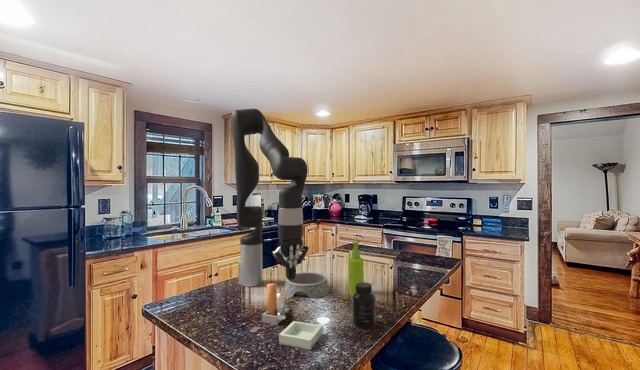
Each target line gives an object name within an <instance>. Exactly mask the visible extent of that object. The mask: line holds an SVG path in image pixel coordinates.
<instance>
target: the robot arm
mask: <svg viewBox="0 0 640 370" xmlns="http://www.w3.org/2000/svg"><path fill="white" fill-rule="evenodd" d="M230 119H231V120H230V121H231V131H232V140H233V141H232V142H233V146H234V147H233V148H234V172H235V176H234V177H235V186H236V187H235V189H236V224H237V226H238V227H239V228H243V229H248V228H250V229H252V228H254V229H253V231H251V232H249V233H247V234H246V235H243V236H241V237H240V238H239V239H240V240H239V241H240V242H239V243H240V246H239V248H240V252H239V253H240V257H239V258H240V260H239V261H238V262H237V263H238V264H237V265H238V267H237V268H238V271H237V273H238V274H237V276H238V277H237V278H238V282H237V283H238V285H240V286H242V287H248V288H249V287H257V286H260V285H262V284H263V221H264V216H263V215H264V214H263V208H262V207H261V206H259V205H256V206H255V205H254V206H253V205H249V206H246V203H247V200H248V199H249V197H250V195H251V194H252V193H253V192H254V190H255V189H256V188H257V185H258V184H259V181H260V166H259V163H258V161H257V160H256V158H255V157H254V156H253V154H252V153H251V151H249V149H248V147H247V145H246V142H245V136H249V135H255V134H259V135H260V138H259V150H260V152H261V153H262V154H263V156H264V157H265V158H266V159H267V160H268V161H269V164H270V167H271V171H272V174H273V176H274V177H275V178H277V179H279V180H280V181H290V184H289V185H288V187H284V188H282V189H280V190H279V194H278V200H279V201H278V207H279V208H278V216H277V218H278V219H277V221H278V225H277V229H278V230H277V233H278V240H279V241H278V244H277V248H276V249H275V250H272V251H271V255H272V256H273V257H274V259H275V260H276V262H277V263H278V264H279V266H281V267H284V268H285V279H289V280H293V279H295V276H296V274H297V272H296V271H297V266H298V265H301V263H302V262H303V260H304V259H305V257H306V254H307V252H308V251H309V246H307V245H305V244H303V243H304V242H303V237H304V214H303V193H304V188H305V185H306V180H307V177H308V171H309V170H308V165H307V162H306V160H305V159H304V158H302V157H298V156H297V157H293V156H290V151H289V149H288V148H287V146H286V145H284V143H283V142H282V141H281V140H280V139H279V138H278V137H277V136H276V134H275V133H274V131H273V129H272V127H271V126H270V124H269V122H268V121H267V119H266V117H265V116H264V114H263V112H261V111H260V110H259V109H258V108H244V109H243V108H242V109H235V110H233V111H232V113H231V118H230Z"/></svg>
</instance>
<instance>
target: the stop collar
mask: <svg viewBox="0 0 640 370" xmlns="http://www.w3.org/2000/svg"><path fill="white" fill-rule="evenodd" d="M283 320H284V319H281V320H278V318H277V316H273V315H267V310H266V311H265V312H264V313H262V314H261V323H265V324H271V325H279V324H280V323H281V322H282V321H283Z"/></svg>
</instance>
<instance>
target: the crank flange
mask: <svg viewBox="0 0 640 370" xmlns="http://www.w3.org/2000/svg"><path fill="white" fill-rule="evenodd" d="M289 312H290V306H289V305H288V304H285V315H286V314H288V313H289ZM260 329H261V327H260V326H256V325H255V326H254V327H252V328H251V329H250V330H249V332H251V333H256V332H257V331H259V330H260Z"/></svg>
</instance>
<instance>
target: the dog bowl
mask: <svg viewBox="0 0 640 370" xmlns="http://www.w3.org/2000/svg"><path fill="white" fill-rule="evenodd" d="M283 292H284V293H285V296H288V297H290V298H293V297H294V295H297V296H308V298H309V299H310V300H311V299H316V298H321V297H325V296H326V295H327V294H328V293H330V288H329V284H328V280H327V277H326V276H325V275H323V274H320V273H316V272H299V273H297V272H296V276H295V279H293V280H289V279H287V278H285V283H284V288H283Z"/></svg>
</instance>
